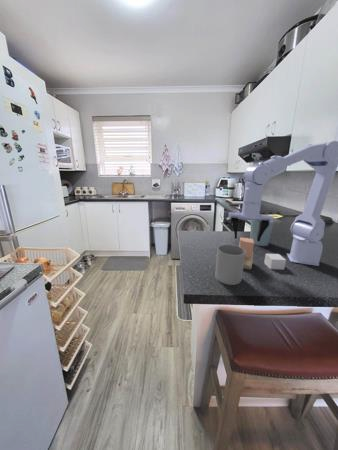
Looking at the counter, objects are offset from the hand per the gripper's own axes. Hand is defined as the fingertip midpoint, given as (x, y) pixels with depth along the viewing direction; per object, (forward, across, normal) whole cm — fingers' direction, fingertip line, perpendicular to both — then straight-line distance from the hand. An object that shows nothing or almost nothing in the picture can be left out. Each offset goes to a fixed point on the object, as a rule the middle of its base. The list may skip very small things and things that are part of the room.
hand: (246, 239), depth 69 cm
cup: (+10, +5, +12) cm, 17 cm away
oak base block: (+10, 0, 0) cm, 10 cm away
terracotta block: (+6, 0, 0) cm, 6 cm away
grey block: (+10, -11, -3) cm, 15 cm away
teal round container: (+10, -8, -28) cm, 31 cm away
